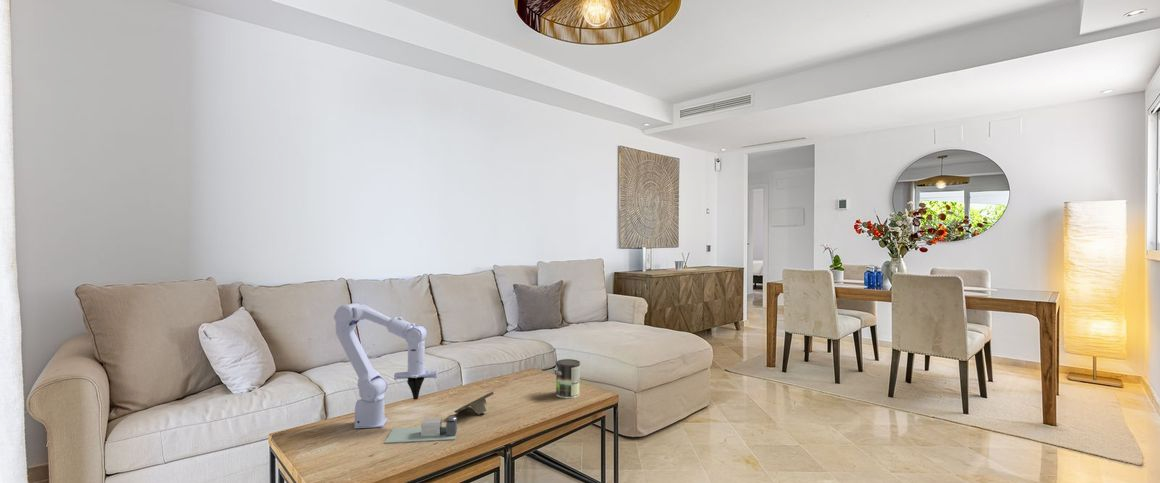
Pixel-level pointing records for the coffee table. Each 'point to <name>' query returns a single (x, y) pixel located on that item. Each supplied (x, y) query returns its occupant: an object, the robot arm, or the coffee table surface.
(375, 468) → the coffee table surface
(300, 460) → the coffee table surface
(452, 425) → the coupler
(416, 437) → the mat
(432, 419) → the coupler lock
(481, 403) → the grey slanted panel
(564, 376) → the coffee can
